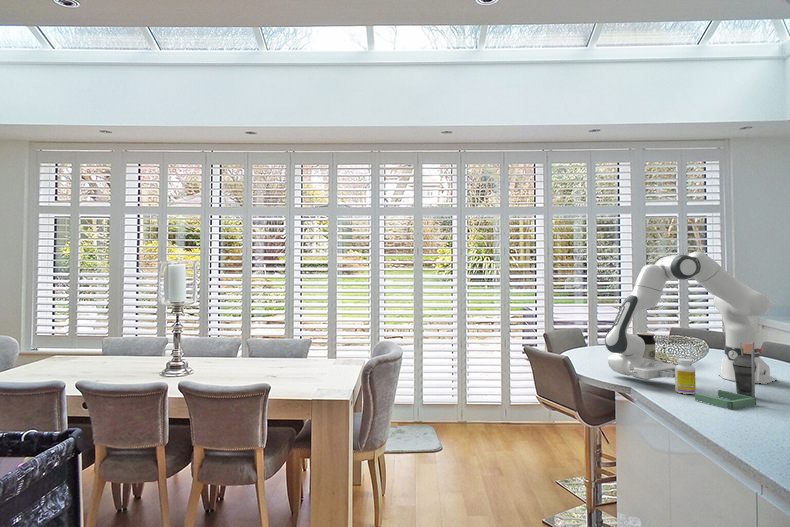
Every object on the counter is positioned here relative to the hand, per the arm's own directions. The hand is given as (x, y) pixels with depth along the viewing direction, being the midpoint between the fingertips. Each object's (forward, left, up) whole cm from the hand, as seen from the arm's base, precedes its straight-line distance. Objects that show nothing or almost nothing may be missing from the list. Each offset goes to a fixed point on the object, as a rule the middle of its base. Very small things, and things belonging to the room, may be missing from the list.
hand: (675, 375), depth 182 cm
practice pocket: (0, +18, -6) cm, 19 cm away
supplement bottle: (0, +4, -6) cm, 7 cm away
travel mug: (-22, -30, -6) cm, 38 cm away
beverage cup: (-16, +16, -6) cm, 23 cm away
